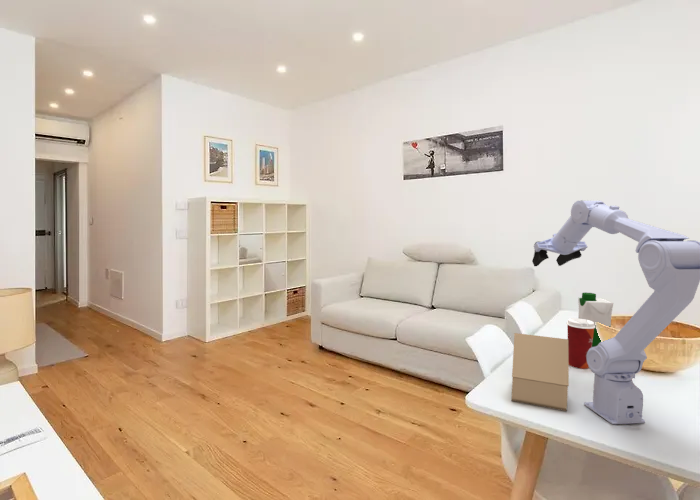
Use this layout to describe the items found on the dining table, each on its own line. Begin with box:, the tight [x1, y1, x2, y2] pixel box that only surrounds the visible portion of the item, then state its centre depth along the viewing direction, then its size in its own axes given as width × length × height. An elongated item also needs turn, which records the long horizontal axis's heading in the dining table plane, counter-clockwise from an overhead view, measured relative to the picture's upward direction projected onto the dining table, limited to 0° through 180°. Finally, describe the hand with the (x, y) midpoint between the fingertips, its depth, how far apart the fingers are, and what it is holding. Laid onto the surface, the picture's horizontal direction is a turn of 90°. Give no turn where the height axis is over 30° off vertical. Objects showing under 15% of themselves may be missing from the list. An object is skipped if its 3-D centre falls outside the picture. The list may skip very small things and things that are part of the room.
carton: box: [511, 377, 569, 412], centre depth 99 cm, size 11×12×6 cm
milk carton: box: [577, 292, 614, 347], centre depth 131 cm, size 9×9×20 cm
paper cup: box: [566, 317, 595, 370], centre depth 120 cm, size 8×8×14 cm
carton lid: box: [511, 332, 570, 387], centre depth 96 cm, size 11×12×1 cm
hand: (546, 263), depth 116 cm, fingers open, 7 cm apart
